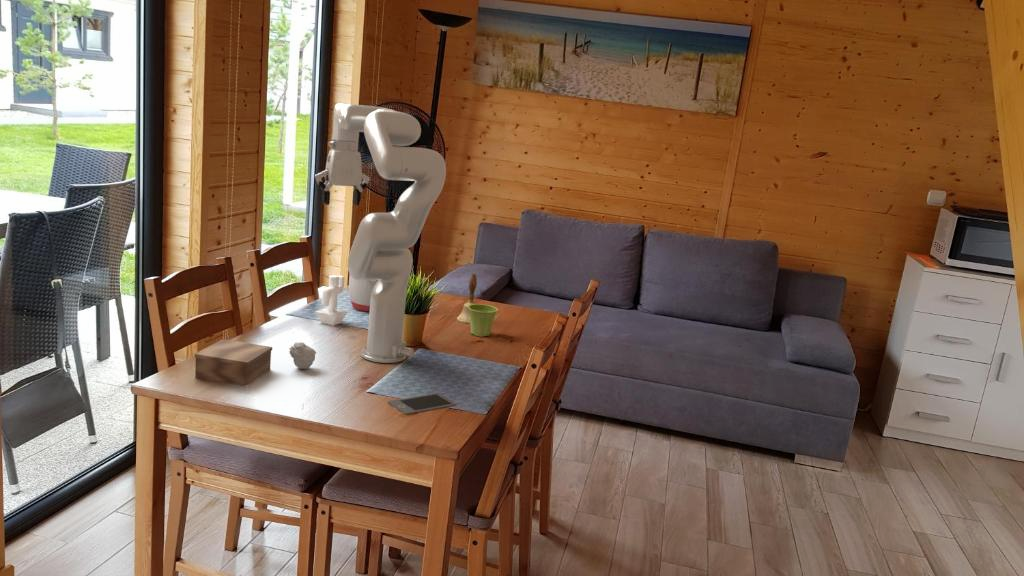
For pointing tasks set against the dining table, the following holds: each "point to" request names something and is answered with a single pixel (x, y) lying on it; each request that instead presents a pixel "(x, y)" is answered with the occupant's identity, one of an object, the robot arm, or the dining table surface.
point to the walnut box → (233, 362)
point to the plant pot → (481, 319)
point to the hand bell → (465, 313)
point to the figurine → (332, 302)
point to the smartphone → (421, 403)
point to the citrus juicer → (361, 293)
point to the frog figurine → (302, 355)
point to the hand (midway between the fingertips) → (341, 204)
